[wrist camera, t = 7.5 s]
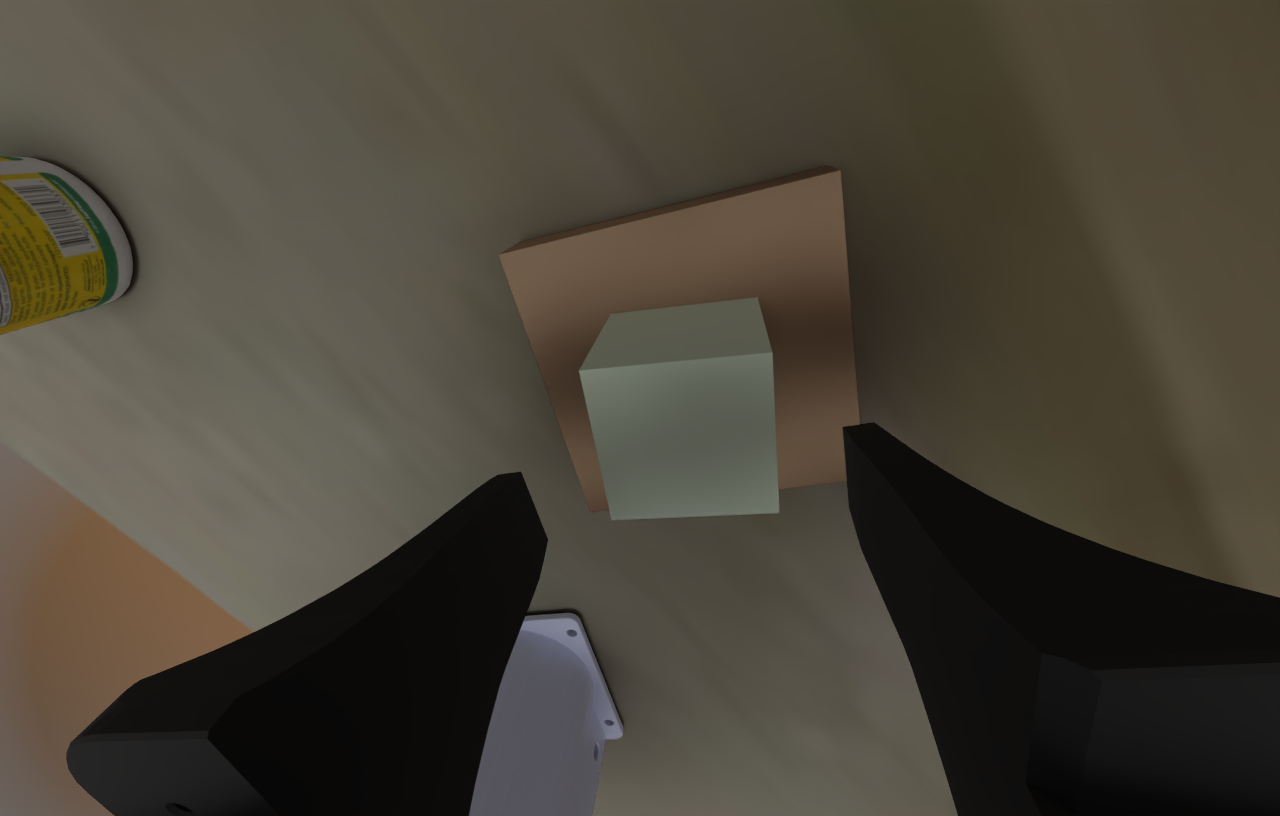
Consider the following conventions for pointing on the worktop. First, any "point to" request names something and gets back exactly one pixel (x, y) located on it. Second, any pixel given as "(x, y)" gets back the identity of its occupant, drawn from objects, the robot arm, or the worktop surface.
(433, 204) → the worktop surface
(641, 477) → the sage block
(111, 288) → the supplement bottle
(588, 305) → the brown square pad
